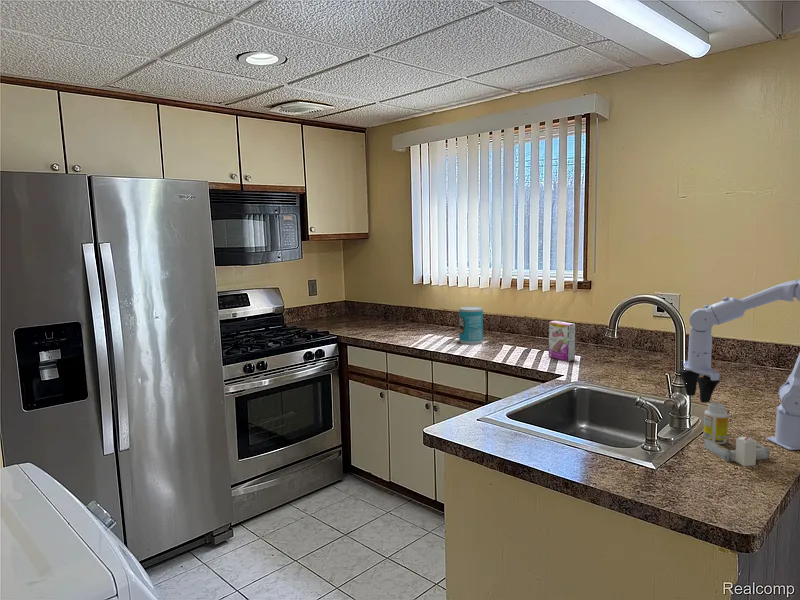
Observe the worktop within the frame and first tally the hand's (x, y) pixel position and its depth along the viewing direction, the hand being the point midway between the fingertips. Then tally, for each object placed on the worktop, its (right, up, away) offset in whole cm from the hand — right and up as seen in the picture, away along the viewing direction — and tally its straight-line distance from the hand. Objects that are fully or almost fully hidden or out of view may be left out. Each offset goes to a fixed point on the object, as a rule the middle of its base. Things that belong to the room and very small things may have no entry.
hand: (697, 398), depth 155 cm
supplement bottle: (+1, -11, -7) cm, 12 cm away
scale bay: (+2, -11, -15) cm, 19 cm away
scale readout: (0, -12, -21) cm, 24 cm away
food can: (-48, +6, +128) cm, 137 cm away
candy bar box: (-12, +1, +89) cm, 90 cm away
